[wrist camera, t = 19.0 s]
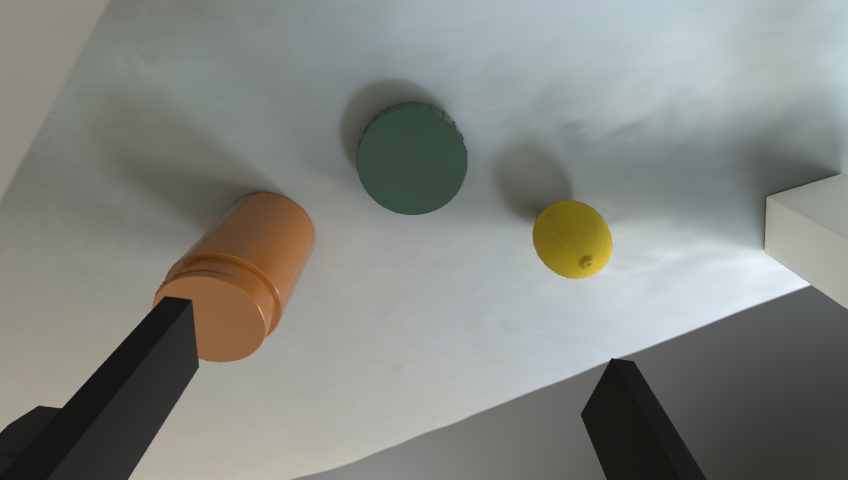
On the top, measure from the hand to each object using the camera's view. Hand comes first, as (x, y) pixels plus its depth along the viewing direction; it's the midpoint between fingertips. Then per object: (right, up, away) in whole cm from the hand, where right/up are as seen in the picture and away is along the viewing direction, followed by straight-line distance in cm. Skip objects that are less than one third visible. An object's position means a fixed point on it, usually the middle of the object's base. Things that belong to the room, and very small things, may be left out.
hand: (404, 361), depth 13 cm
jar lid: (0, +10, +18) cm, 20 cm away
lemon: (+12, +6, +23) cm, 26 cm away
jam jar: (-13, +5, +23) cm, 27 cm away
